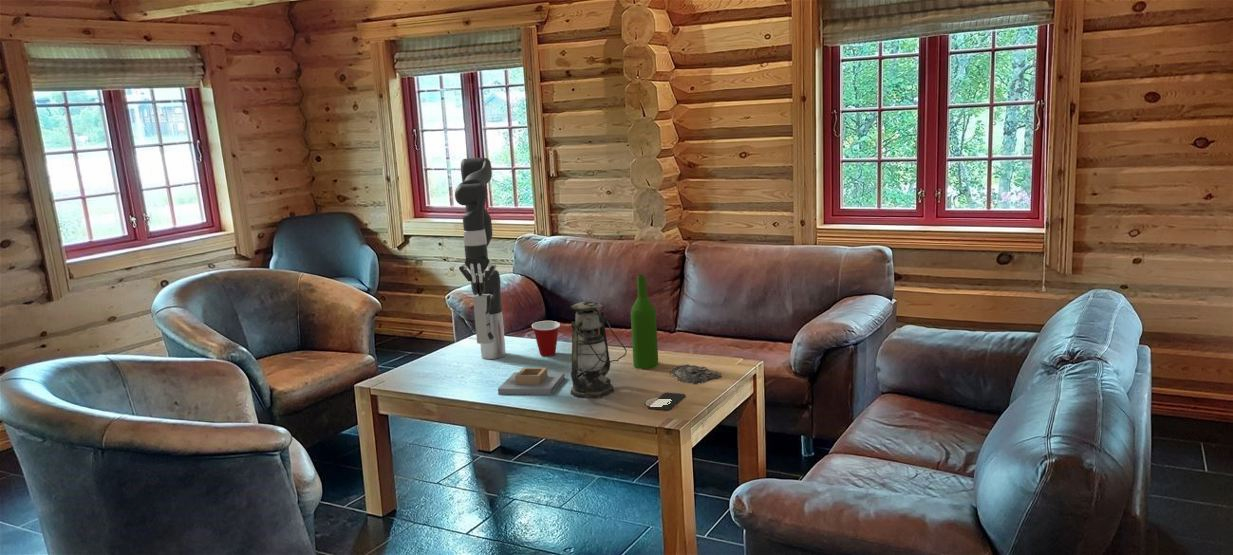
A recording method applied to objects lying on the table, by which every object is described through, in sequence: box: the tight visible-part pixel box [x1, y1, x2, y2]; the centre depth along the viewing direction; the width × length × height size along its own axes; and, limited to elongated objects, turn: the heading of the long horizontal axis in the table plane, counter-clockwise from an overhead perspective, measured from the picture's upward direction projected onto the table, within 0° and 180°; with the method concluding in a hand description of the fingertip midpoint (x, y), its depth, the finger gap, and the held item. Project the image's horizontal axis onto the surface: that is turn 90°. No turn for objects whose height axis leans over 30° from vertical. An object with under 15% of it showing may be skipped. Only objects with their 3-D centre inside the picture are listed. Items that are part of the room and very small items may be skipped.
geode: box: [670, 364, 723, 385], centre depth 300 cm, size 19×4×15 cm
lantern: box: [569, 300, 627, 399], centre depth 287 cm, size 19×19×30 cm
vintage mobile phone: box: [472, 272, 494, 345], centre depth 305 cm, size 4×5×25 cm
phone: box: [647, 391, 686, 412], centre depth 276 cm, size 7×1×15 cm
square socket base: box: [497, 367, 566, 396], centre depth 300 cm, size 18×18×5 cm
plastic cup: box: [531, 320, 561, 357], centre depth 337 cm, size 11×11×12 cm
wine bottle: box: [630, 274, 659, 370], centre depth 313 cm, size 9×9×32 cm
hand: (479, 293), depth 304 cm, fingers closed on vintage mobile phone, 1 cm apart
